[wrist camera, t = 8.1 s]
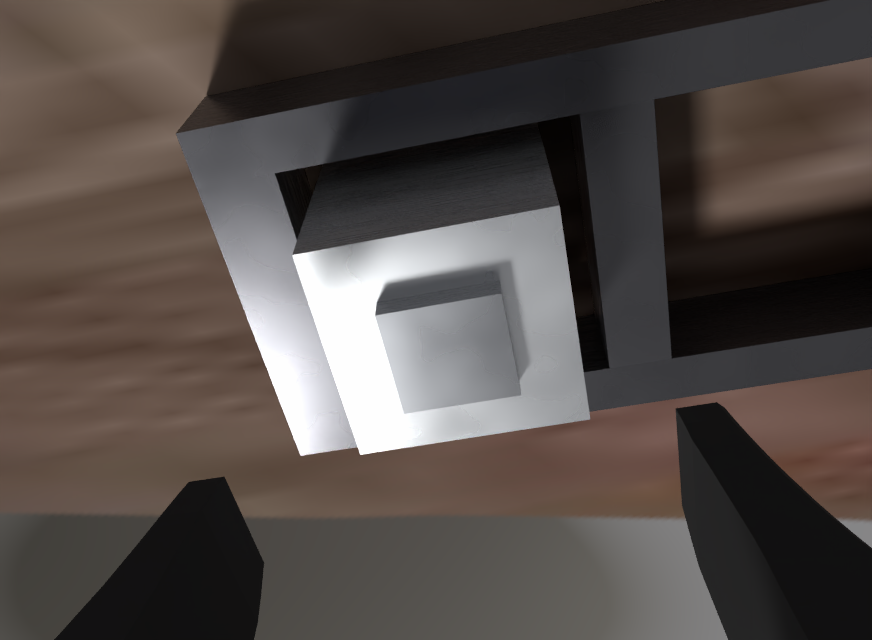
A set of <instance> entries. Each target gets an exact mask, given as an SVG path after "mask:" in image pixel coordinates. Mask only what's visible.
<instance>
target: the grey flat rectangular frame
mask: <svg viewBox="0 0 872 640" xmlns="http://www.w3.org/2000/svg"><path fill="white" fill-rule="evenodd" d="M869 57H872V0H666V1H661V2H657V3H652V4H647V5H642V6H637V7H633V8H628V9H623V10H618V11H613V12H609V13H604V14H599V15H594V16H589V17H585V18H580V19H575V20H570V21H565V22H561V23H556V24H551V25H546V26H542V27H537V28H532V29H527V30H522V31H518V32H513V33H508V34H503V35H498V36H494V37H489V38H484V39H479V40H474V41H470V42H465V43H460V44H455V45H450V46H446V47H441V48H436V49H431V50H426V51H422V52H417V53H412V54H407V55H402V56H398V57H393V58H388V59H383V60H378V61H374V62H369V63H364V64H359V65H354V66H350V67H345V68H340V69H335V70H330V71H326V72H321V73H316V74H311V75H307V76H302V77H297V78H292V79H287V80H283V81H278V82H273V83H268V84H263V85H259V86H254V87H249V88H244V89H239V90H235V91H230V92H225V93H220V94H215V95H211V96H206V97H205V98H204V99H203V100H202V102H201V103H200V104H199V105H198V107H197V108H196V109H195V110H194V112H193V113H192V114H191V115H190V117H189V118H188V119H187V120H186V122H185V123H184V124H183V125H182V126H181V128H180V129H179V130H178V131H177V133H176V135H177V138H178V141H179V143H180V146H181V148H182V151H183V153H184V156H185V159H186V161H187V164H188V166H189V169H190V171H191V174H192V177H193V179H194V182H195V184H196V187H197V190H198V192H199V195H200V197H201V200H202V202H203V205H204V208H205V210H206V213H207V215H208V218H209V220H210V223H211V226H212V228H213V231H214V233H215V236H216V238H217V241H218V244H219V246H220V249H221V251H222V254H223V257H224V259H225V262H226V264H227V267H228V269H229V272H230V275H231V277H232V280H233V282H234V285H235V287H236V290H237V293H238V295H239V298H240V300H241V303H242V306H243V308H244V311H245V313H246V316H247V318H248V321H249V324H250V326H251V329H252V331H253V334H254V336H255V339H256V342H257V344H258V347H259V349H260V352H261V354H262V357H263V360H264V362H265V365H266V367H267V370H268V373H269V375H270V378H271V380H272V383H273V385H274V388H275V391H276V393H277V396H278V398H279V401H280V403H281V406H282V409H283V411H284V414H285V416H286V419H287V421H288V424H289V427H290V429H291V432H292V434H293V437H294V440H295V442H296V445H297V447H298V450H299V452H300V455H308V454H314V453H321V452H328V451H334V450H341V449H347V448H354V447H358V446H357V443H356V440H355V437H354V434H353V431H352V428H351V425H350V422H349V419H348V417H347V414H346V411H345V408H344V405H343V402H342V399H341V396H340V393H339V390H338V387H337V385H336V382H335V379H334V376H333V373H332V370H331V367H330V364H329V361H328V358H327V355H326V352H325V350H324V347H323V344H322V341H321V338H320V335H319V332H318V329H317V326H316V323H315V320H314V317H313V315H312V312H311V309H310V306H309V303H308V300H307V297H306V294H305V291H304V288H303V285H302V283H301V280H300V277H299V274H298V271H297V268H296V265H295V262H294V259H293V256H292V254H293V251H294V248H295V245H296V242H297V239H298V236H299V233H300V230H301V228H302V225H303V222H304V219H305V216H306V213H307V210H308V207H309V204H310V201H311V198H312V192H311V189H310V186H309V182H308V179H307V176H306V173H305V169H304V168H305V167H310V166H315V165H320V164H325V163H330V162H335V161H340V160H346V159H351V158H356V157H361V156H366V155H371V154H376V153H381V152H387V151H392V150H397V149H402V148H407V147H412V146H417V145H423V144H428V143H433V142H438V141H443V140H448V139H453V138H458V137H464V136H469V135H474V134H479V133H484V132H489V131H494V130H500V129H505V128H510V127H515V126H520V125H525V124H530V123H535V122H541V121H546V120H551V119H556V118H561V117H566V116H570V122H571V131H572V139H573V147H574V155H575V163H576V171H577V179H578V187H579V195H580V203H581V211H582V219H583V227H584V235H585V243H586V251H587V259H588V267H589V275H590V283H591V291H592V299H593V307H594V314H593V315H587V316H581V317H576V323H577V330H578V337H579V344H580V351H581V358H582V365H583V372H584V379H585V386H586V393H587V400H588V406H589V412H591V411H597V410H604V409H610V408H617V407H624V406H630V405H637V404H643V403H650V402H656V401H663V400H670V399H676V398H683V397H689V396H696V395H702V394H709V393H716V392H722V391H729V390H735V389H742V388H749V387H755V386H762V385H768V384H775V383H781V382H788V381H795V380H801V379H808V378H814V377H821V376H827V375H834V374H841V373H847V372H854V371H860V370H867V369H872V268H871V269H865V270H859V271H853V272H847V273H841V274H834V275H828V276H822V277H816V278H810V279H804V280H798V281H792V282H786V283H780V284H774V285H768V286H762V287H756V288H750V289H744V290H738V291H732V292H726V293H720V294H714V295H708V296H702V297H696V298H690V299H684V300H678V301H672V302H668V297H667V282H666V268H665V253H664V238H663V224H662V209H661V194H660V179H659V165H658V150H657V135H656V121H655V106H654V99H659V98H664V97H669V96H674V95H679V94H684V93H689V92H695V91H700V90H705V89H710V88H715V87H720V86H725V85H730V84H736V83H741V82H746V81H751V80H756V79H761V78H766V77H771V76H777V75H782V74H787V73H792V72H797V71H802V70H807V69H813V68H818V67H823V66H828V65H833V64H838V63H843V62H848V61H854V60H859V59H864V58H869Z"/></svg>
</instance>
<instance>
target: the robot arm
mask: <svg viewBox="0 0 872 640" xmlns="http://www.w3.org/2000/svg"><path fill="white" fill-rule="evenodd" d="M676 420H677V435H678V450H679V465H680V480H681V495H682V506H683V510H684V514H685V518H686V521H687V525H688V529H689V532H690V536H691V540H692V543H693V547H694V550H695V554H696V557H697V561H698V564H699V567H700V570H701V573H702V575H703V578H704V580H705V583H706V585H707V588H708V590H709V593H710V595H711V598H712V600H713V603H714V605H715V608H716V610H717V613H718V615H719V618H720V620H721V623H722V625H723V628H724V630H725V633H726V635H727V638H728V640H872V548H871V547H870V546H868V545H867V544H866V543H865V542H863V541H862V540H861V539H860V538H858V537H857V536H856V535H855V534H853V533H852V532H851V531H850V530H849V529H848V528H846V527H845V526H844V525H843V524H842V523H840V522H839V521H838V520H837V519H836V518H834V517H833V516H832V515H831V514H830V513H829V512H828V511H826V510H825V509H824V508H823V507H822V506H821V505H820V504H819V503H817V502H816V501H815V500H814V499H813V498H812V497H811V496H810V495H809V494H808V493H807V492H806V491H804V490H803V489H802V488H801V487H800V486H799V485H798V484H797V483H796V482H795V481H794V480H793V479H792V478H791V477H789V476H788V475H787V474H786V473H785V472H784V471H783V470H782V469H781V468H780V467H779V466H778V465H777V464H776V463H775V462H774V461H773V460H772V459H771V458H770V457H769V456H768V455H767V454H766V453H765V452H764V451H763V450H762V449H761V448H760V447H759V446H758V445H757V443H756V442H755V441H754V440H753V439H752V438H751V437H750V436H749V435H748V434H747V433H746V432H745V431H744V429H743V428H742V427H741V426H740V425H739V424H738V423H737V422H736V421H735V419H734V418H733V417H732V416H731V415H730V414H729V412H728V411H727V410H726V409H725V408H724V407H723V406H721V405H720V404H718V403H717V402H716V403H710V404H703V405H696V406H690V407H683V408H676ZM263 568H264V562H263V560H262V557H261V555H260V553H259V551H258V549H257V547H256V545H255V542H254V540H253V538H252V536H251V533H250V531H249V529H248V527H247V525H246V523H245V520H244V518H243V516H242V514H241V512H240V510H239V507H238V505H237V503H236V501H235V499H234V497H233V494H232V492H231V490H230V488H229V486H228V484H227V481H226V479H225V477H219V478H212V479H206V480H199V481H193V482H189V483H188V484H187V485H186V486H185V487H184V488H183V489H182V491H181V492H180V493H179V494H178V495H177V496H176V498H175V499H174V500H173V501H172V502H171V504H170V505H169V506H168V507H167V509H166V510H165V511H164V512H163V514H162V515H161V516H160V517H159V518H158V520H157V521H156V522H155V524H154V525H153V526H152V527H151V528H150V530H149V531H148V532H147V533H146V535H145V536H144V537H143V538H142V539H141V541H140V542H139V543H138V545H137V546H136V547H135V548H134V549H133V550H132V552H131V553H130V554H129V555H128V556H127V558H126V559H125V560H124V561H123V562H122V564H121V565H120V566H119V567H118V568H117V570H116V571H115V572H114V573H113V574H112V576H111V577H110V578H109V579H108V581H107V582H106V583H105V584H104V585H103V587H101V589H100V590H99V591H98V592H97V593H96V594H95V595H94V596H93V597H92V599H91V600H90V601H89V602H88V603H87V604H86V605H85V606H84V607H83V609H82V610H81V611H80V612H79V613H78V614H77V615H76V616H75V617H74V619H73V620H72V621H71V622H70V623H69V624H68V625H67V626H66V628H65V629H64V630H63V631H62V632H61V633H60V634H59V635H58V636H57V637H56V638H55V639H54V640H254V637H255V632H256V627H257V623H258V615H259V607H260V599H261V589H262V578H263Z"/></svg>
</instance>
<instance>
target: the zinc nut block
mask: <svg viewBox="0 0 872 640" xmlns="http://www.w3.org/2000/svg"><path fill="white" fill-rule="evenodd" d="M292 256H293V259H294V262H295V265H296V268H297V271H298V274H299V277H300V280H301V283H302V285H303V288H304V291H305V294H306V297H307V300H308V303H309V306H310V309H311V312H312V315H313V317H314V320H315V323H316V326H317V329H318V332H319V335H320V338H321V341H322V344H323V347H324V350H325V352H326V355H327V358H328V361H329V364H330V367H331V370H332V373H333V376H334V379H335V382H336V385H337V387H338V390H339V393H340V396H341V399H342V402H343V405H344V408H345V411H346V414H347V417H348V419H349V422H350V425H351V428H352V431H353V434H354V437H355V440H356V443H357V446H358V449H359V452H360V454H367V453H374V452H380V451H387V450H393V449H400V448H406V447H413V446H419V445H426V444H432V443H439V442H445V441H452V440H458V439H465V438H471V437H478V436H484V435H491V434H497V433H504V432H510V431H517V430H523V429H530V428H536V427H543V426H549V425H556V424H562V423H569V422H575V421H582V420H588V419H590V413H589V406H588V400H587V393H586V386H585V379H584V372H583V365H582V358H581V351H580V344H579V337H578V330H577V323H576V316H575V309H574V302H573V295H572V288H571V282H570V275H569V268H568V261H567V254H566V247H565V240H564V233H563V226H562V219H561V212H560V205H559V202H558V198H557V194H556V191H555V187H554V183H553V179H552V176H551V172H550V168H549V165H548V161H547V157H546V154H545V150H544V146H543V142H542V139H541V135H540V131H539V128H538V124H537V122H535V123H530V124H525V125H520V126H515V127H510V128H505V129H500V130H494V131H489V132H484V133H479V134H474V135H469V136H464V137H458V138H453V139H448V140H443V141H438V142H433V143H428V144H423V145H417V146H412V147H407V148H402V149H397V150H392V151H387V152H381V153H376V154H371V155H366V156H361V157H356V158H351V159H346V160H340V161H335V162H330V163H325V164H323V165H322V168H321V171H320V174H319V177H318V180H317V183H316V186H315V189H314V192H313V195H312V198H311V201H310V204H309V207H308V210H307V213H306V216H305V219H304V222H303V225H302V228H301V230H300V233H299V236H298V239H297V242H296V245H295V248H294V251H293V254H292Z"/></svg>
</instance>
